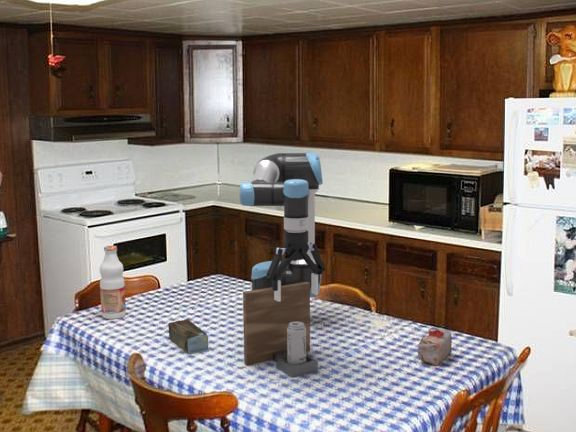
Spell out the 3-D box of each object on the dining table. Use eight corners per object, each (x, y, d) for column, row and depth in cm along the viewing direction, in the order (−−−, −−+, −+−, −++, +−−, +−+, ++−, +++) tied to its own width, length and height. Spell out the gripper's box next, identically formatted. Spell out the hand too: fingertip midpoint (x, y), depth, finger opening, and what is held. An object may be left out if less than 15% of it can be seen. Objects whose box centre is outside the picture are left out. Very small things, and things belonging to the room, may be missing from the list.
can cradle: (266, 361, 229) (266, 351, 228) (291, 355, 233) (291, 345, 233) (291, 377, 215) (291, 366, 215) (317, 371, 220) (317, 360, 219)
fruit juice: (98, 315, 278) (94, 246, 273) (120, 310, 284) (117, 243, 279) (107, 321, 271) (103, 250, 266) (129, 316, 276) (126, 247, 271)
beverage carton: (187, 355, 235) (186, 336, 234) (167, 338, 251) (167, 321, 250) (209, 351, 239) (208, 332, 238) (188, 335, 255) (188, 317, 254)
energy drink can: (304, 373, 218) (304, 327, 216) (285, 372, 219) (285, 326, 217) (307, 366, 224) (307, 321, 221) (289, 365, 225) (289, 320, 223)
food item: (439, 368, 222) (440, 338, 220) (415, 363, 226) (416, 334, 225) (453, 354, 234) (454, 326, 232) (430, 350, 238) (431, 322, 236)
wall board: (244, 363, 227) (243, 291, 223) (306, 349, 239) (306, 281, 235) (247, 365, 225) (245, 293, 221) (309, 351, 237) (309, 282, 233)
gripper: (266, 236, 205) (267, 306, 208) (336, 228, 217) (336, 294, 221) (254, 232, 211) (255, 300, 215) (323, 224, 224) (323, 288, 227)
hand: (296, 297), depth 218 cm, fingers open, 13 cm apart
